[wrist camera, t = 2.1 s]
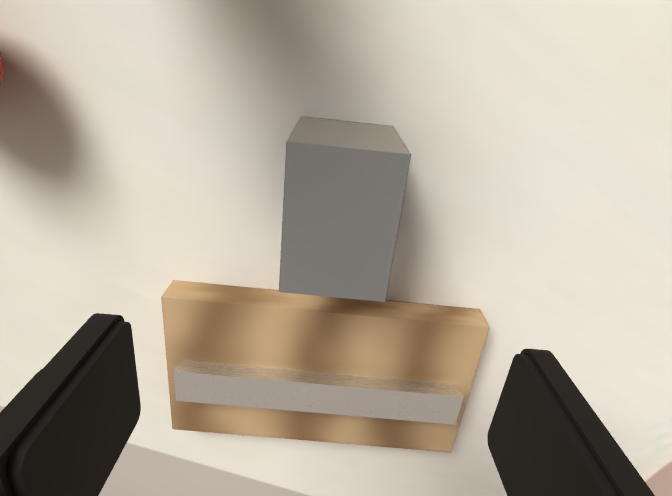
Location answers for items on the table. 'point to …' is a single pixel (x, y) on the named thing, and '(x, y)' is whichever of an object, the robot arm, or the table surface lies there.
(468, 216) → the table surface
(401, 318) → the mounting board
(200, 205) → the table surface
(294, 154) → the block
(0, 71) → the red oval fruit
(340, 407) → the rail
